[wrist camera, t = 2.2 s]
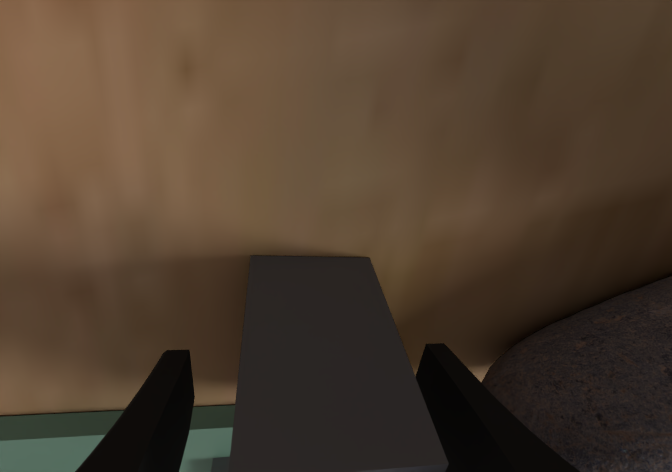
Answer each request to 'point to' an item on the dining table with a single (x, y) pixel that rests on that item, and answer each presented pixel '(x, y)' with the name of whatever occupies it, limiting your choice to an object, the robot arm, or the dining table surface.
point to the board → (90, 428)
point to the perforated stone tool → (598, 383)
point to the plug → (326, 375)
